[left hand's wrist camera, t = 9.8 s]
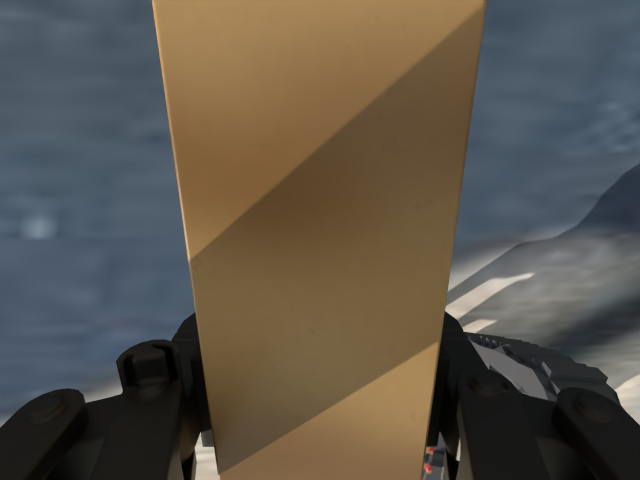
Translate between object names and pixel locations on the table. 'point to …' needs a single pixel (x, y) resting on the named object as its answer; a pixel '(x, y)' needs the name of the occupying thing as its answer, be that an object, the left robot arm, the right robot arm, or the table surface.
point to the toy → (525, 379)
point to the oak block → (319, 220)
